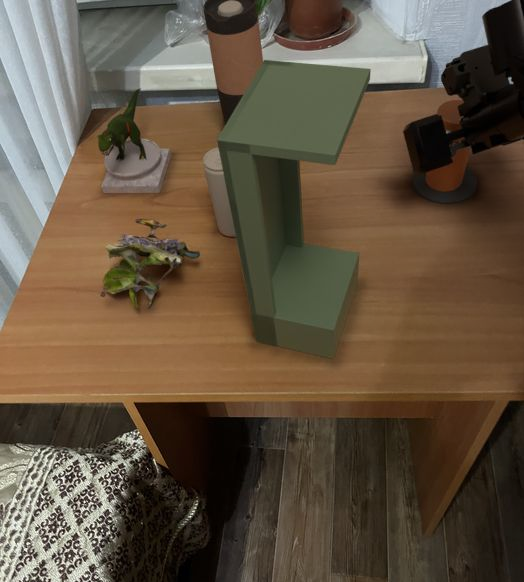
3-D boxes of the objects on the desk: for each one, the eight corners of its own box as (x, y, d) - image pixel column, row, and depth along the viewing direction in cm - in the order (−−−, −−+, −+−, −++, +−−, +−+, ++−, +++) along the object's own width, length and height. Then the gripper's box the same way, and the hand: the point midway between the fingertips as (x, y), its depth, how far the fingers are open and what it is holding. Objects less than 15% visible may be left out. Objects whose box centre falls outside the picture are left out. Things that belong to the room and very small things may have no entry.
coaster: (472, 161, 83) (472, 159, 83) (480, 203, 78) (481, 200, 78) (410, 164, 84) (411, 162, 84) (415, 205, 79) (415, 202, 79)
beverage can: (255, 218, 81) (244, 148, 71) (244, 241, 79) (231, 172, 69) (224, 213, 83) (210, 143, 73) (213, 236, 80) (196, 167, 70)
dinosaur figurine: (97, 209, 86) (68, 144, 76) (128, 130, 97) (105, 64, 87) (154, 209, 85) (132, 143, 75) (179, 128, 95) (162, 62, 86)
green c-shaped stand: (357, 284, 72) (370, 68, 48) (333, 359, 66) (335, 154, 42) (285, 271, 75) (264, 59, 51) (256, 341, 69) (216, 139, 45)
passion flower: (174, 290, 82) (209, 232, 75) (159, 341, 75) (197, 283, 67) (102, 256, 79) (131, 191, 71) (78, 306, 71) (108, 240, 63)
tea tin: (470, 180, 81) (487, 112, 71) (443, 196, 79) (458, 129, 70) (443, 163, 83) (457, 95, 74) (417, 178, 82) (428, 111, 73)
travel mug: (257, 111, 96) (242, -16, 80) (277, 133, 92) (266, 4, 75) (217, 126, 95) (194, 0, 78) (236, 150, 91) (215, 22, 74)
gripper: (573, 13, 61) (492, 64, 77) (421, 61, 59) (369, 103, 75) (593, 115, 64) (510, 144, 79) (447, 164, 62) (391, 184, 77)
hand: (446, 142), depth 77 cm, fingers open, 6 cm apart
